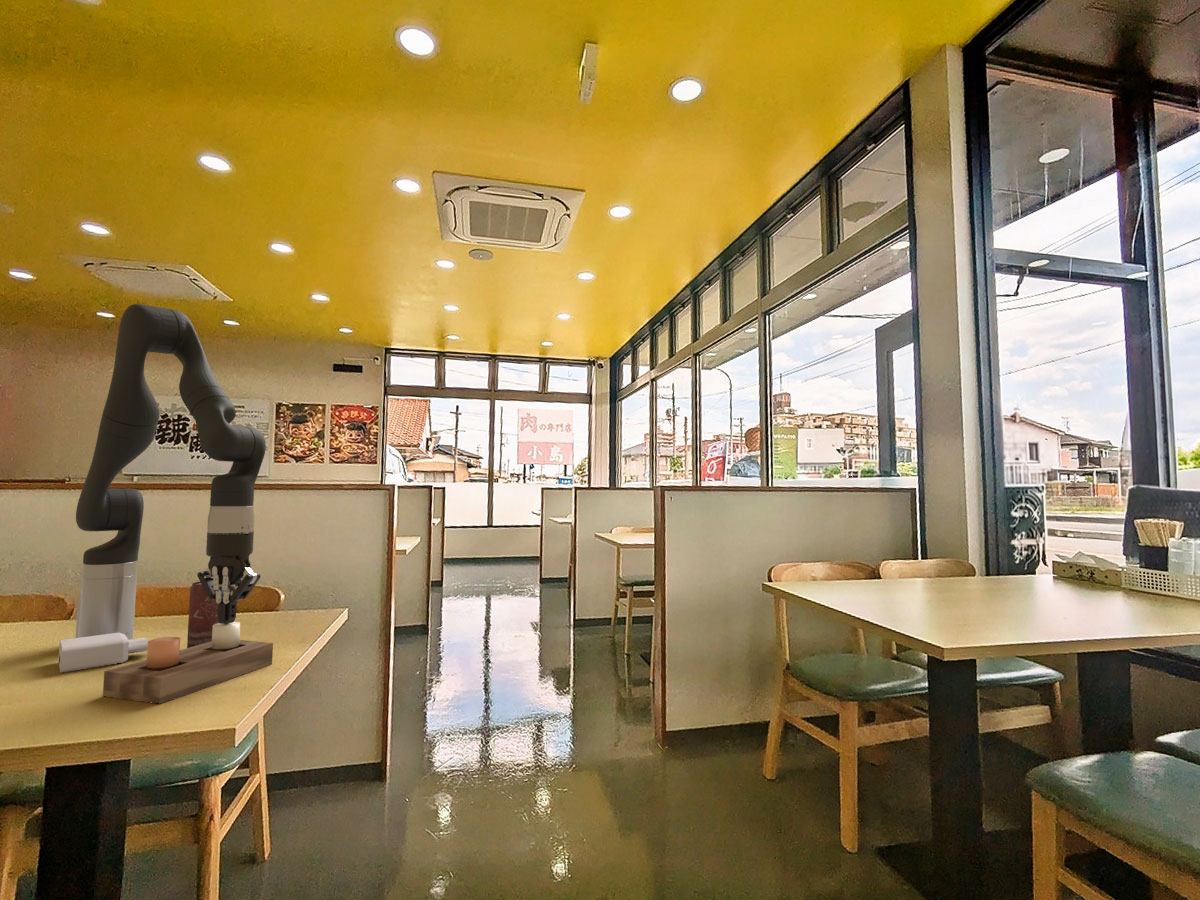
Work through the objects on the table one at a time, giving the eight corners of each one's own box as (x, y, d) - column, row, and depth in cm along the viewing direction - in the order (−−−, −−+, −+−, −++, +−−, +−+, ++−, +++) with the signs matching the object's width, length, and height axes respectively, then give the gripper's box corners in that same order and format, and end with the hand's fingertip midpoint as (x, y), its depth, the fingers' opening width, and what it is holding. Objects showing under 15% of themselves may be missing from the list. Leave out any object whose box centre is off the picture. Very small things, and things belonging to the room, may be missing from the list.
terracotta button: (139, 666, 97) (141, 642, 98) (165, 659, 102) (166, 635, 102) (160, 669, 96) (161, 644, 96) (185, 661, 100) (186, 637, 101)
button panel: (102, 696, 95) (104, 671, 96) (222, 658, 117) (223, 638, 117) (159, 704, 92) (160, 678, 92) (272, 664, 113) (273, 642, 114)
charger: (162, 658, 117) (60, 675, 107) (154, 649, 124) (57, 663, 113) (163, 634, 117) (61, 648, 107) (156, 626, 124) (59, 638, 113)
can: (229, 646, 126) (233, 579, 127) (207, 654, 119) (210, 584, 120) (203, 645, 126) (206, 579, 127) (179, 653, 120) (183, 583, 121)
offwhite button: (205, 648, 109) (206, 626, 109) (226, 642, 113) (227, 621, 113) (224, 650, 108) (225, 627, 108) (244, 643, 112) (245, 622, 112)
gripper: (185, 530, 110) (180, 625, 109) (242, 532, 106) (237, 630, 105) (220, 528, 117) (216, 616, 116) (275, 529, 114) (271, 621, 112)
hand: (226, 622), depth 111 cm, fingers closed
